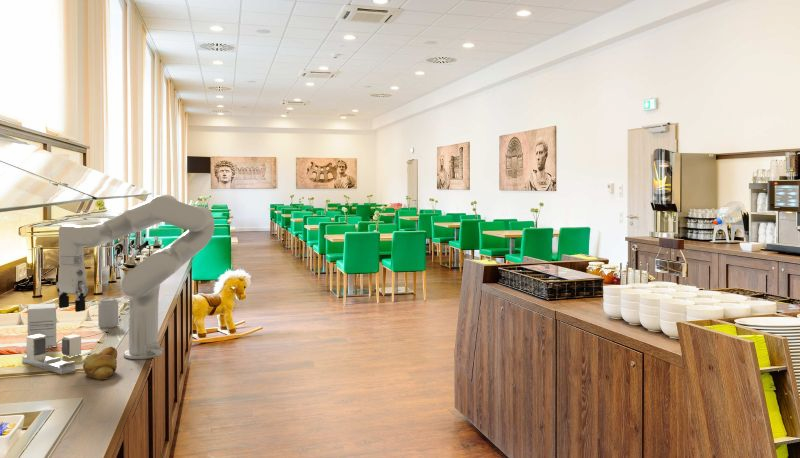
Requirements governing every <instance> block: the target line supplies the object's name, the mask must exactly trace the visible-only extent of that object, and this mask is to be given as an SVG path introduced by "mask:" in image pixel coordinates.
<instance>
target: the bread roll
mask: <svg viewBox="0 0 800 458" xmlns="http://www.w3.org/2000/svg"><path fill="white" fill-rule="evenodd" d="M117 358H118V351H117V349H116V348H115V347H113V346H108V347H105V348H104V349H102V350H101V351H99V352H98V353H94V354H90V355H88V356H87V357H86V358H85V360H84V362H83V365H82V368H83V370H84V373H85V375H86V376H87V377H88V378H93V379H96V380H106V379H108V378H110V377H112V375H114V374H113V373H115V372H116V370H117V367H118V366H117V364H118V363H117V361H118V360H117Z"/></svg>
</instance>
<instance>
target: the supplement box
mask: <svg viewBox="0 0 800 458" xmlns="http://www.w3.org/2000/svg"><path fill="white" fill-rule="evenodd" d="M36 334H41V335H45V336H46V349H48V348H47V347H53V346H56V347H57V304H56V302H52V303H34V304H28V306H27V336H31V335H36Z"/></svg>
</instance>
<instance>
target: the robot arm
mask: <svg viewBox="0 0 800 458" xmlns="http://www.w3.org/2000/svg"><path fill="white" fill-rule="evenodd" d="M160 223H166V224H168V225H170V226H174V227H177V228H179V229H181V230H186V231H185V232H183V233H181V235H179V236H178V237H177V238H176V239H175V240H174V241H172V242H171V243H169V244H168V245H167V246H165V247H163V248H161V249H159V250H156V251H155V252H153V253H152V254H150V255H149V256H148V257H147V258H145V259H144V260H143V261H141V262H140V263H138V265H136V266H135V267H133V268H132V269H131V270H129V271H128V272H127V273H126V274H125V275H124V276H123V278H122V280H121V289H122V293H124V295H126V296H128V297H129V301H128V303H129V304H128V349H127V350H125V351H124V353H123V356H124V358H127V359H129V360H147V359H148V360H149V359H153V358H157V357H159V356H161V355H163V353H164V352H163V351H164V348H163V347H162V346H160V342H159V297H160V286H161V284H162V283H163V282H165V281H166V280H167V279H168V278H171V276H173V275H174V274H175V273H177V272H178V271H179V270H180V269H181V267H183V266H184V265H185V264H186V263H188V262H189V261H190V260H191V259H192V258H193V257H195V256H196V255H197V254H198V253H199V252H200V251H202V250H203V249H204V248H205V247H206V246H207V245H208V244H209V242H210V241H211V239H212V237H213V236H214V231H215V219H214V216H213V213H212V212H211V210H210V209H209V208H207V207H206V206H201V205H198V206H193V205H190V204H188V203H184V202H181V201H179V200H177V198H176V197H174V196H172V195H169V194H162V195H161V194H159V195H156V196H154V197H152V198H151V199H150V200H148V201H145V202H143V203H142V202H141V203H139V204H137V205H135V206H133V207H129V208H128V209H126V210H125V211H123V213H121V214H119V215H117V216H115V217H112V218H110V219H108V220H104V221H103V222H100V223H95V224H90V225H80V224H62V225H60V226H59V228H58V265H59V267H58V268H59V269H58V281H57V282H55V285H56V291H57V296H58V308H59V309H65V308H69V307H70V295H74V297H75V300H74V309H75V312H76V313H79V312H83V311H86V299H87V295H88V292H89V288H88V280H87V270H86V267H85V247H87V248H88V247H89V248H95V247H100V246H102V245H106V244H108V243H111V242H113V241H116V240H118V239H121V238H123V237H126V236H128V235H130V234H134V233H138V232H140V231H143V230H145V229H148V228H150V227H153V226H155V225H158V224H160ZM69 294H70V295H69Z"/></svg>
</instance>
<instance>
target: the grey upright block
mask: <svg viewBox="0 0 800 458" xmlns="http://www.w3.org/2000/svg"><path fill="white" fill-rule="evenodd" d="M97 312H98V313H97V314H98V315H97V317H98V327H99V328H100V327H101V328H100V329H103V328H108V329H115V328H116V327H118V325H119V301H118V299H117V298H115V297H105V298H104V297H103V298H100V301H98V311H97ZM108 329H107V330H108Z"/></svg>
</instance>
